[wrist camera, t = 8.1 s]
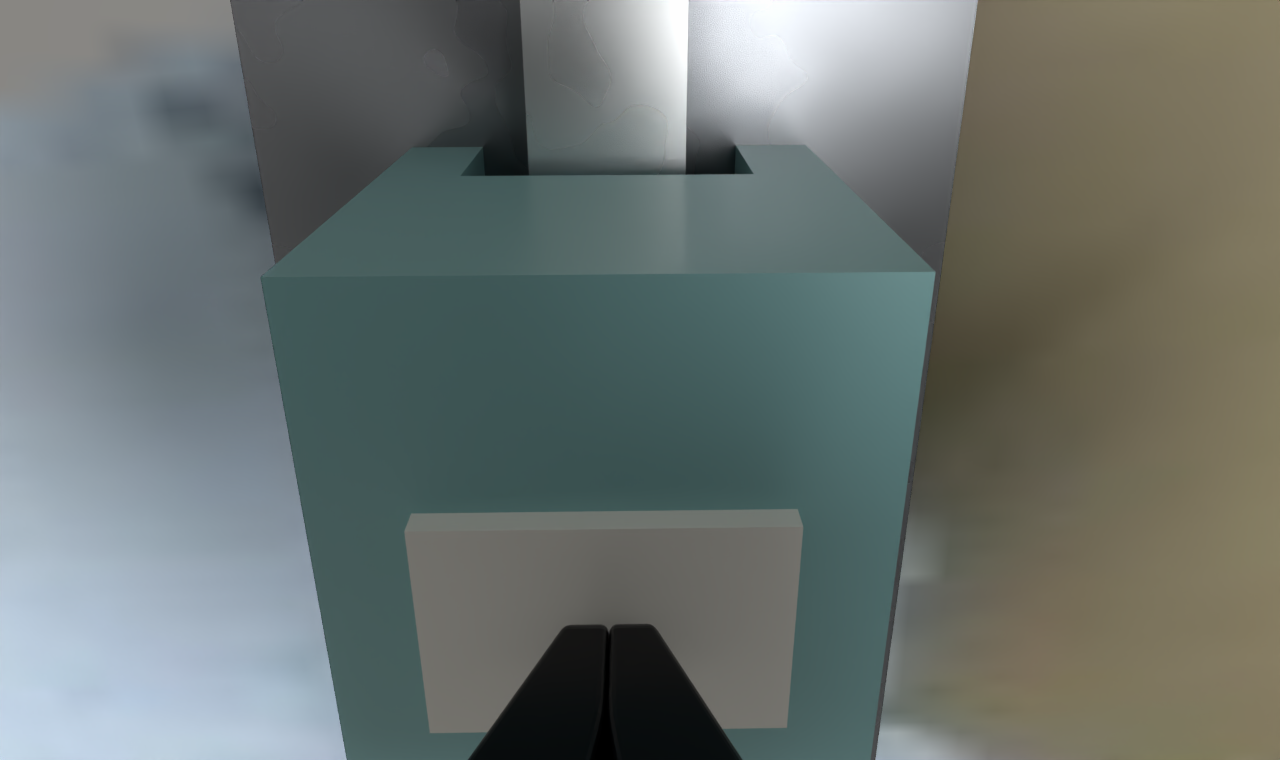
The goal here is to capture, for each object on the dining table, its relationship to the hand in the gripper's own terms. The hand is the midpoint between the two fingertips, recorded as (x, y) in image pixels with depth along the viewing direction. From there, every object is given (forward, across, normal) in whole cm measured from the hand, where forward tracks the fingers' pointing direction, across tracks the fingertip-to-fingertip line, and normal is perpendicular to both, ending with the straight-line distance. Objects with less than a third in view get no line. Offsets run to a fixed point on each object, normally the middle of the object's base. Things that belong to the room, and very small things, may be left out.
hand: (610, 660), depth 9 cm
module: (+6, 0, 0) cm, 7 cm away
